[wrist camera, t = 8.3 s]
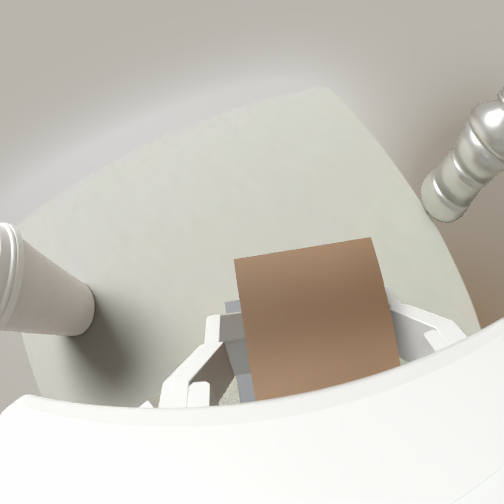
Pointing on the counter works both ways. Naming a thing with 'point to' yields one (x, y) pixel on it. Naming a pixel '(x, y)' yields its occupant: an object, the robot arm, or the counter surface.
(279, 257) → the peg
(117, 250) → the counter surface
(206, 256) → the counter surface
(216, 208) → the counter surface
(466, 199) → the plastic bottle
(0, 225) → the coffee cup
